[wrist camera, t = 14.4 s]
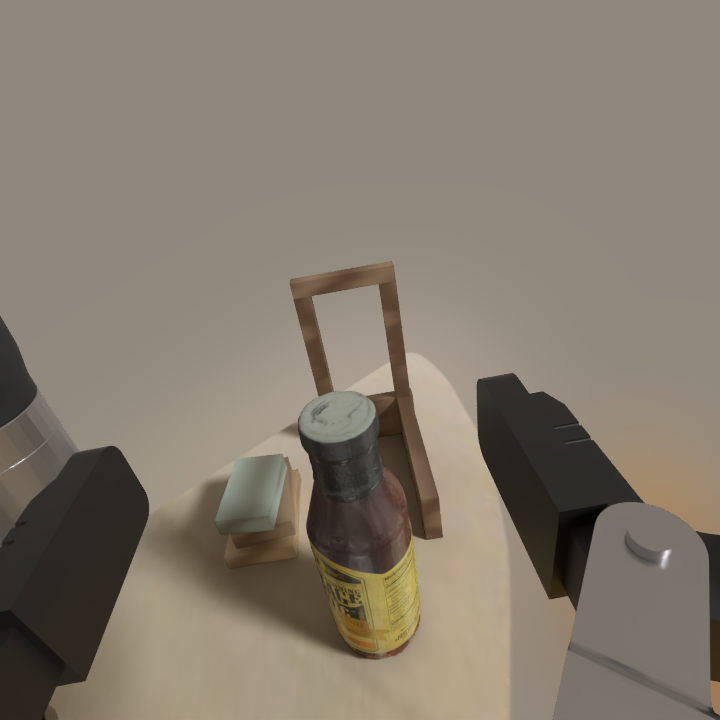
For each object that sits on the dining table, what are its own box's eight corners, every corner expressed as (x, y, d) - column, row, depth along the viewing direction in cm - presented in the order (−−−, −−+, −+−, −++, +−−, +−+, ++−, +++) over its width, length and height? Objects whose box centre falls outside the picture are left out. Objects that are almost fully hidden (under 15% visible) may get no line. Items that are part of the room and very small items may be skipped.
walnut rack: (333, 555, 38) (274, 364, 28) (331, 437, 51) (290, 278, 41) (446, 536, 38) (427, 337, 28) (414, 422, 51) (394, 260, 41)
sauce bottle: (325, 608, 34) (253, 402, 24) (393, 565, 36) (353, 360, 26) (366, 691, 29) (297, 474, 19) (443, 636, 31) (418, 414, 21)
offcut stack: (230, 569, 39) (209, 529, 36) (245, 490, 46) (229, 452, 44) (300, 558, 38) (285, 517, 36) (303, 480, 46) (291, 442, 43)
